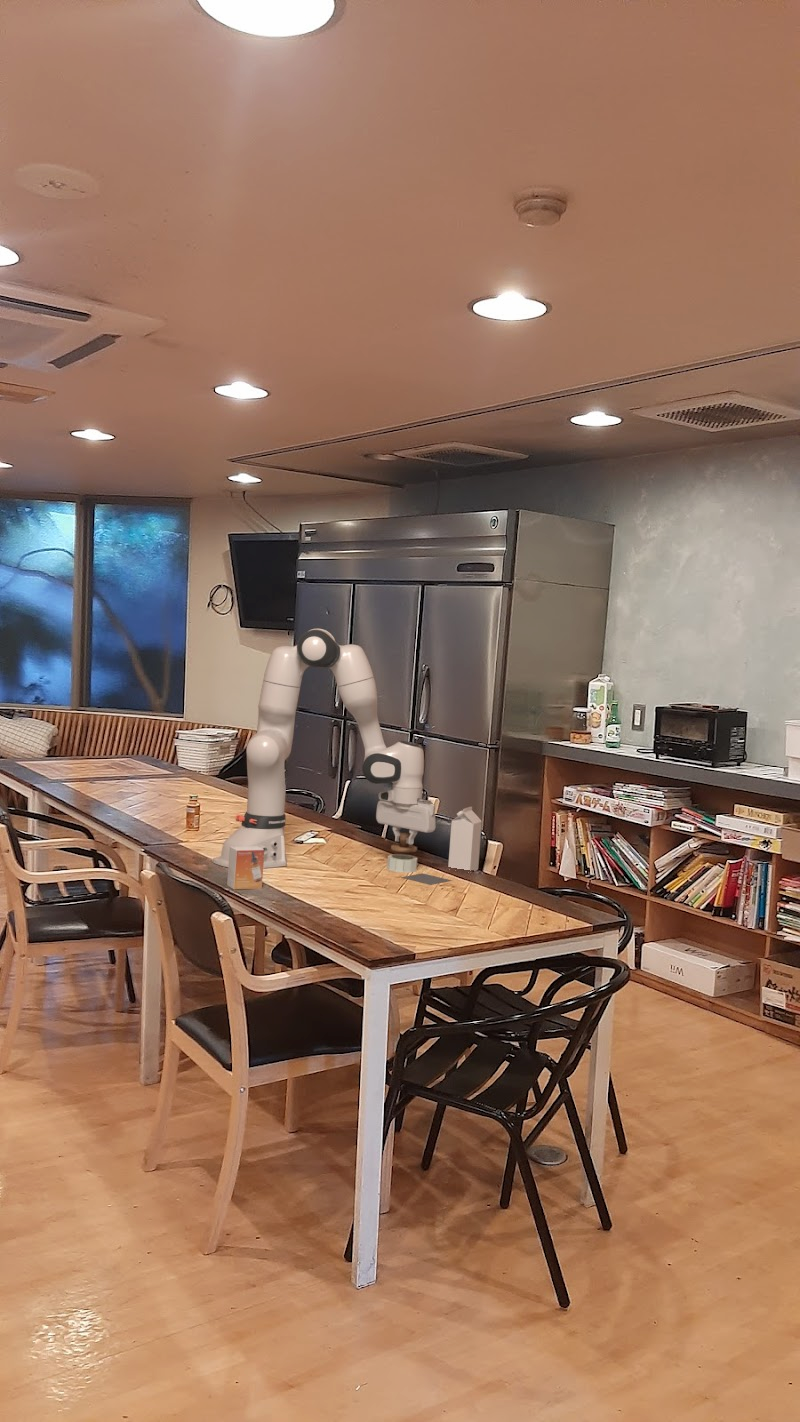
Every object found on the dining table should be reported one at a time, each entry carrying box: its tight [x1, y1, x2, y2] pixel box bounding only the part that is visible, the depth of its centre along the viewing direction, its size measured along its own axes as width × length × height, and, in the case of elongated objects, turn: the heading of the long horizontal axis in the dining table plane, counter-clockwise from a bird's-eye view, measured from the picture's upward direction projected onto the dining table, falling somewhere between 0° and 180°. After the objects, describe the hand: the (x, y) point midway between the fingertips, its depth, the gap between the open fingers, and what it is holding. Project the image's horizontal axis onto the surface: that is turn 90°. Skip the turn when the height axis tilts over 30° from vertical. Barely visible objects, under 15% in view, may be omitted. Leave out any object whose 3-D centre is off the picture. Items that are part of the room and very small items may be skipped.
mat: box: [400, 872, 453, 886], centre depth 312 cm, size 10×11×1 cm
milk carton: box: [447, 806, 483, 872], centre depth 329 cm, size 7×7×19 cm
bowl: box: [386, 853, 418, 874], centre depth 323 cm, size 9×9×4 cm
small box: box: [226, 846, 264, 890], centre depth 288 cm, size 8×6×10 cm
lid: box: [390, 831, 418, 854], centre depth 322 cm, size 8×8×5 cm
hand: (404, 843), depth 322 cm, fingers closed on lid, 3 cm apart
